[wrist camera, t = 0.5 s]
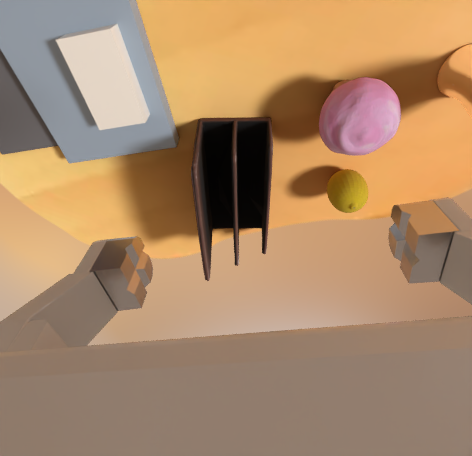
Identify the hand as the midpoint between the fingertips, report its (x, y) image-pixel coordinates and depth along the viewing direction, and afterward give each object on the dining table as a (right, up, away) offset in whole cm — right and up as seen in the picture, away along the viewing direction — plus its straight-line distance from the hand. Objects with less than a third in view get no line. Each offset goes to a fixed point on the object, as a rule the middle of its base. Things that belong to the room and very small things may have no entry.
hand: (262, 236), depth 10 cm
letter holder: (-1, +8, +40) cm, 41 cm away
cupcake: (+13, +17, +31) cm, 38 cm away
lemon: (+15, +9, +39) cm, 43 cm away
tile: (-16, +18, +27) cm, 36 cm away
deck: (-19, +19, +29) cm, 40 cm away
